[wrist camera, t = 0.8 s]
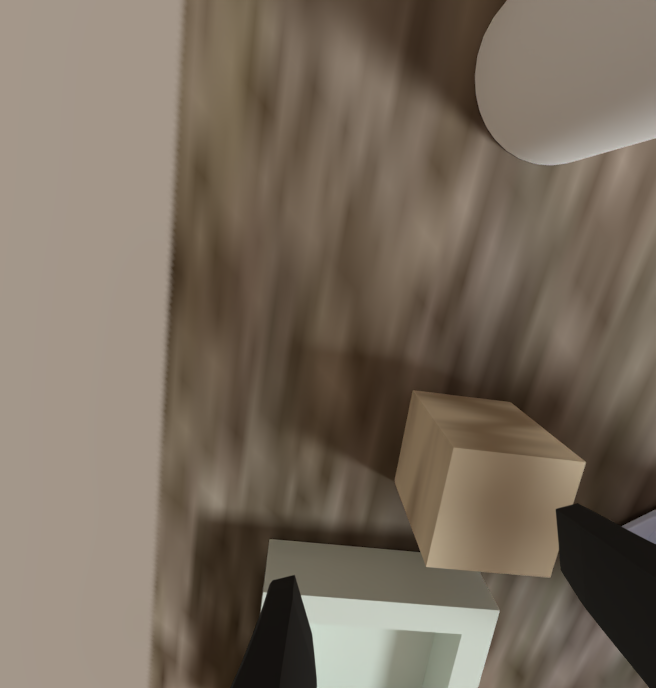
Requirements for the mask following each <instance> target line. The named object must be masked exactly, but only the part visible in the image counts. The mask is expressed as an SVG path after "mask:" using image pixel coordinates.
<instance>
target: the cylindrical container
mask: <svg viewBox="0 0 656 688" xmlns="http://www.w3.org/2000/svg"><path fill="white" fill-rule="evenodd" d="M475 90H476V98H477V102H478V107H479V111H480V114H481V116H482V118H483V121H484V123H485V125H486V127H487V129H488V130H489V132H490V133H491V135H492V136H493V138H494V139H495V140H496V141H497V142H498V143H499V144H500V145H501V146H502V147H503V148H504V149H505V150H506V151H508V152H509V153H511V154H513V155H514V156H516V157H517V158H519V159H521V160H524V161H527V162H531V163H534V164H541V165H558V164H565V163H570V162H573V161H577V160H580V159H584V158H587V157H591V156H594V155H598V154H601V153H605V152H609V151H612V150H616V149H619V148H623V147H626V146H630V145H633V144H637V143H640V142H644V141H647V140H651V139H654V138H656V0H507V1H506V2H505V3H504V5H503V6H502V7H501V8H500V10H499V11H498V12H497V14H496V15H495V16H494V17H493V19H492V21H491V23H490V25H489V27H488V29H487V31H486V32H485V34H484V36H483V40H482V43H481V46H480V49H479V52H478V55H477V63H476V70H475Z"/></svg>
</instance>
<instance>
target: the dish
mask: <svg viewBox="0 0 656 688" xmlns="http://www.w3.org/2000/svg"><path fill="white" fill-rule="evenodd" d="M292 575H295V577H296V581H297V584H298V587H299V591H300V594H301V598H302V601H303V604H304V608H305V611H306V615H307V618H308V621H309V625H310V628H311V632H312V637H313V646H314V655H315V665H316V675H317V688H478V685H479V682H480V678H481V675H482V671H483V668H484V664H485V661H486V657H487V654H488V650H489V647H490V643H491V640H492V636H493V633H494V629H495V626H496V622H497V619H498V615H499V612H500V610H499V608H498V606H497V604H496V602H495V600H494V599H493V597H492V595H491V593H490V591H489V589H488V587H487V585H486V583H485V581H484V579H483V578H482V576H481V574H480V572H478V571H467V570H455V569H443V568H432V567H426V565H425V563H424V560H423V557H422V555H421V552H412V551H401V550H390V549H378V548H367V547H356V546H344V545H333V544H321V543H310V542H299V541H287V540H276V539H269V546H268V554H267V561H266V569H265V577H264V584H263V592H262V600H261V607H260V613H261V610H262V607H263V604H264V601H265V598H266V594H267V591H268V587H269V585H270V583H271V582H272V580H276V579H280V578H284V577H288V576H292ZM259 616H260V615H259Z"/></svg>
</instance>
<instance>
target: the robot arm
mask: <svg viewBox="0 0 656 688" xmlns="http://www.w3.org/2000/svg"><path fill="white" fill-rule="evenodd" d="M556 520H557V531H558V543H559V554H560V566H561V571H562V573H563V574H564V576H565V577H566V579H567V581H568V582H569V584H570V585H571V587H572V588H573V590H574V592H575V593H576V595H577V596H578V598H579V599H580V601H581V602H582V604H583V605H584V607H585V608H586V610H587V611H588V612H589V613H590V615H591V616H592V617H593V618H594V620H595V621H596V622H597V623H598V625H599V626H600V627H601V628H602V630H603V631H604V632H605V633H606V635H607V636H608V637H609V638H610V640H611V641H612V642H613V643H614V645H615V646H616V647H617V648H618V650H619V651H620V652H621V653H622V654H623V656H624V657H625V658H626V659H627V661H628V662H629V663H630V664H631V666H632V667H633V668H634V669H635V671H636V672H637V673H638V674H639V675H640V677H641V678H642V679H643V680H644V682H645V683H646V684H647V685H648V687H649V688H656V510H653V511H651V512H649V513H647V514H645V515H643V516H641V517H639V518H637V519H635V520H633V521H631V522H629V523H627V524H625V525H623V526H620V525H618V524H616V523H614V522H612V521H610V520H608V519H606V518H604V517H603V516H601V515H599V514H597V513H595V512H593V511H591V510H589V509H587V508H585V507H583V506H581V505H579V504H573V505H569V506H565V507H561V508H557V509H556ZM231 688H317V675H316V665H315V655H314V646H313V637H312V632H311V628H310V625H309V621H308V618H307V615H306V611H305V608H304V604H303V601H302V598H301V594H300V591H299V587H298V584H297V581H296V577H295V575H292V576H288V577H284V578H280V579H276V580H272V582H271V583H270V585H269V587H268V591H267V594H266V598H265V601H264V604H263V607H262V610H261V613H260V616H259V619H258V621H257V624H256V627H255V630H254V632H253V635H252V637H251V640H250V643H249V645H248V648H247V650H246V653H245V655H244V658H243V660H242V663H241V665H240V668H239V670H238V672H237V674H236V676H235V679H234V681H233V683H232V685H231Z"/></svg>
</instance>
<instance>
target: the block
mask: <svg viewBox="0 0 656 688" xmlns="http://www.w3.org/2000/svg"><path fill="white" fill-rule="evenodd" d="M585 464H586V462H585V461H584V460H583V459H581V458H580V457H579V456H578V455H576V454H575V453H574V452H573V451H571V450H570V449H569V448H568V447H566V446H565V445H564V444H563V443H561V442H560V441H559V440H557V439H556V438H555V437H554V436H552V435H551V434H550V433H549V432H547V431H546V430H545V429H544V428H542V427H541V426H540V425H539V424H537V423H536V422H535V421H534V420H532V419H531V418H530V417H529V416H527V415H526V414H525V413H524V412H522V411H521V410H520V409H518V408H517V407H516V406H515V405H513V404H512V403H511V402H506V401H498V400H490V399H481V398H473V397H465V396H457V395H448V394H440V393H432V392H423V391H415V390H413V391H412V396H411V401H410V406H409V411H408V416H407V421H406V426H405V431H404V436H403V441H402V446H401V451H400V456H399V461H398V466H397V471H396V476H395V481H394V482H395V484H396V487H397V490H398V493H399V495H400V498H401V501H402V503H403V506H404V509H405V511H406V514H407V517H408V520H409V522H410V525H411V528H412V530H413V533H414V536H415V538H416V541H417V544H418V547H419V549H420V552H421V555H422V557H423V560H424V563H425V565H426V567H432V568H443V569H455V570H467V571H478V572H490V573H502V574H513V575H525V576H537V577H548V578H550V577H551V574H552V570H553V567H554V564H555V561H556V557H557V554H558V551H559V543H558V531H557V520H556V509H557V508H561V507H565V506H569V505H573V503H574V499H575V496H576V493H577V490H578V487H579V483H580V480H581V477H582V474H583V471H584V467H585Z"/></svg>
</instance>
